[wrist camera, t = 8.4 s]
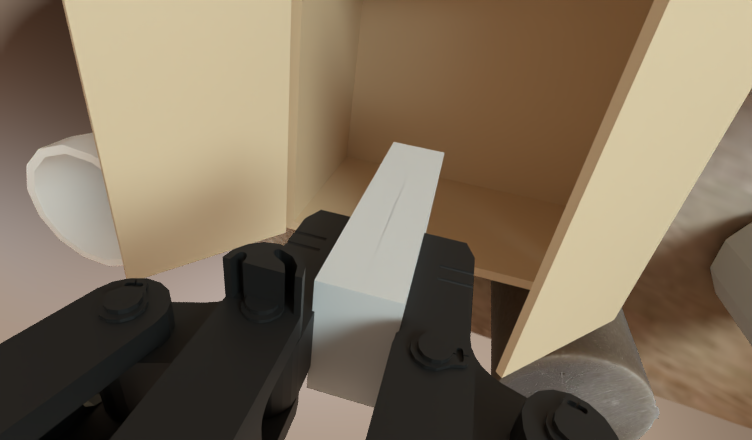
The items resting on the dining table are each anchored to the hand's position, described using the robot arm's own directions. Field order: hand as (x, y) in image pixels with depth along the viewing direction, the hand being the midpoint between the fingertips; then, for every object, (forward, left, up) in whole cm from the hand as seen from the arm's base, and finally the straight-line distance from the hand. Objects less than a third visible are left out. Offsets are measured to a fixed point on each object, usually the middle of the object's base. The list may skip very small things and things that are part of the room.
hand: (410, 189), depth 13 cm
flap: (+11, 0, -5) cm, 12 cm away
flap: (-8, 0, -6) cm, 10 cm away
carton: (-2, 0, -22) cm, 22 cm away
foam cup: (+22, +12, -22) cm, 33 cm away
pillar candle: (-12, +17, -22) cm, 30 cm away
